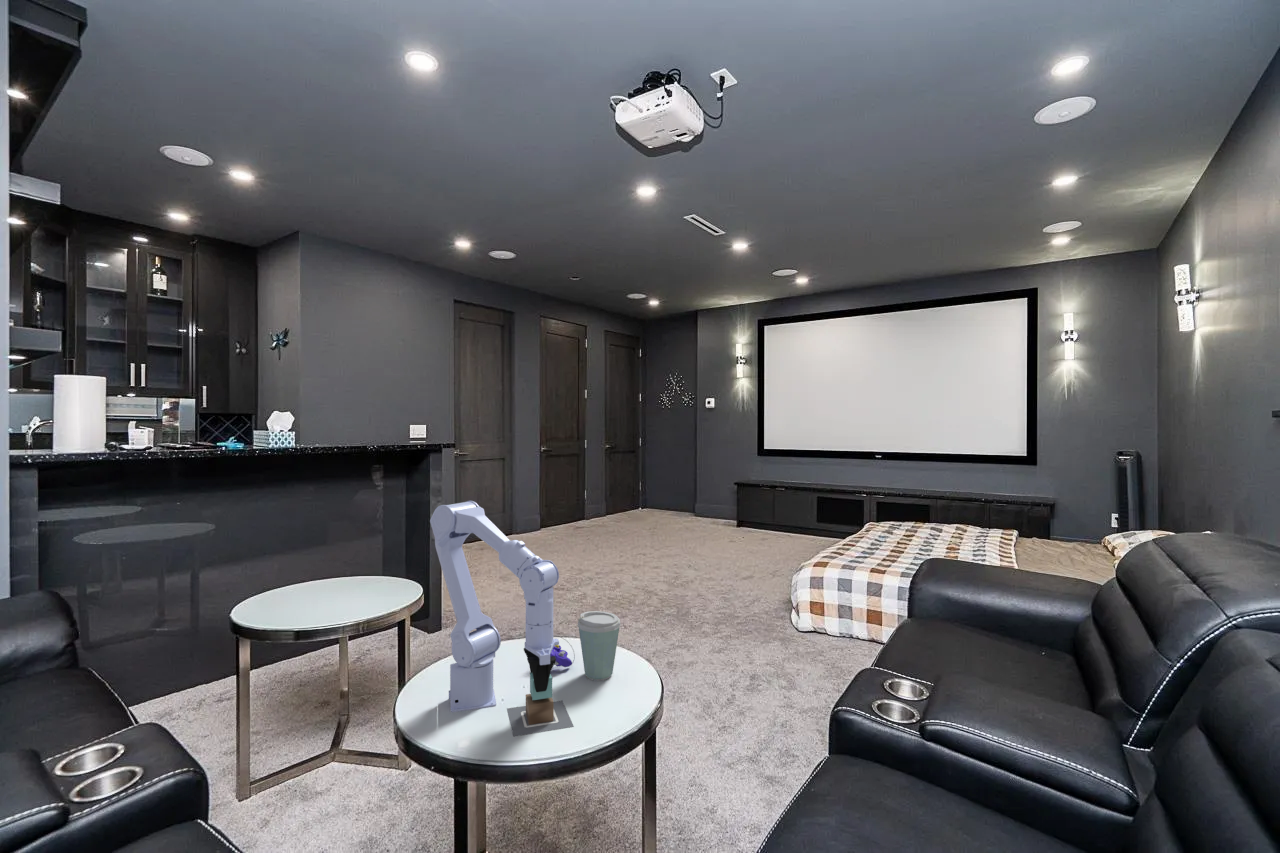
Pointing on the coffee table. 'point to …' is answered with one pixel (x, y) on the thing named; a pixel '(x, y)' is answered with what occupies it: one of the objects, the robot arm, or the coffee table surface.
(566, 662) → the game controller
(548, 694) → the teal cube
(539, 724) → the mat
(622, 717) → the coffee table surface
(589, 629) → the disposable coffee cup
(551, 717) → the walnut block
